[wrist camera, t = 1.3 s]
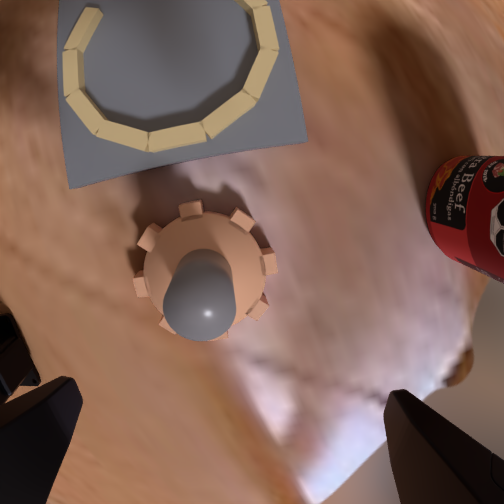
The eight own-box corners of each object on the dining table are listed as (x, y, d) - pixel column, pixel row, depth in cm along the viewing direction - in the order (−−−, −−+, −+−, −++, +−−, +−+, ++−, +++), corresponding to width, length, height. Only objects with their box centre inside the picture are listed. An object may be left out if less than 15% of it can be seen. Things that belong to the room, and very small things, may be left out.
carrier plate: (77, 188, 17) (62, 190, 15) (72, -53, 12) (63, -66, 10) (302, 143, 18) (313, 139, 16) (247, -91, 13) (250, -107, 11)
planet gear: (158, 337, 20) (139, 392, 14) (125, 215, 18) (86, 233, 12) (280, 316, 21) (302, 368, 15) (261, 188, 18) (280, 195, 13)
